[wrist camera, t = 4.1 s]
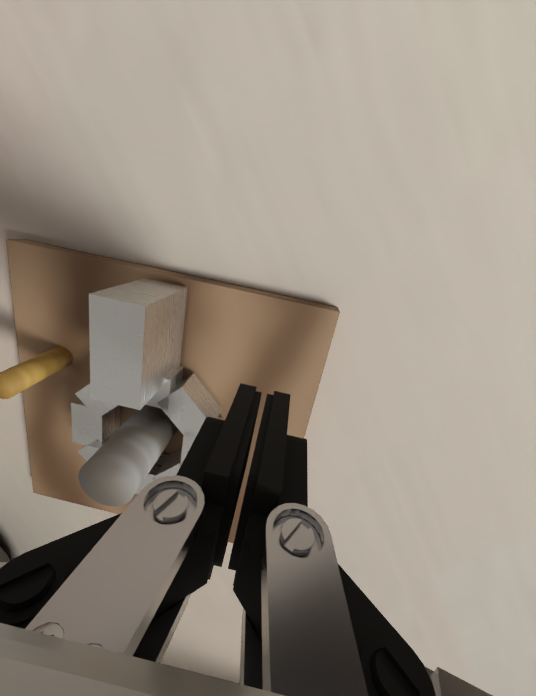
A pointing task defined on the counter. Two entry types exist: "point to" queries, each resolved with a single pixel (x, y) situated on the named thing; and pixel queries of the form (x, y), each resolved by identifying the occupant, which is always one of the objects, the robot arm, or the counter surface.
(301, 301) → the post base
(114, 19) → the counter surface
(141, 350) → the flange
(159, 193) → the counter surface
